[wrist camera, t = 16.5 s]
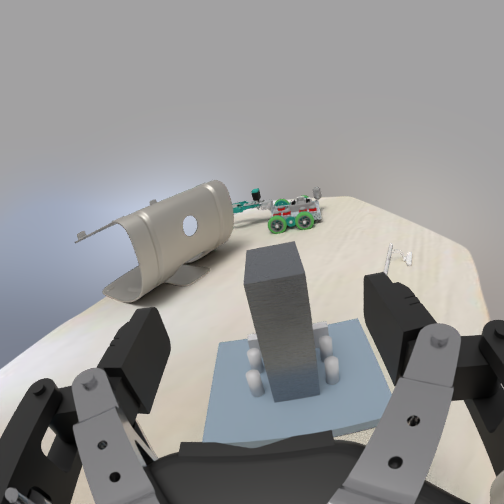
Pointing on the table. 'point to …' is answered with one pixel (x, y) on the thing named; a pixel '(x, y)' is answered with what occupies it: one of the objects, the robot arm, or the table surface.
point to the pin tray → (300, 410)
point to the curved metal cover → (172, 239)
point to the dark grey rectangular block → (282, 320)
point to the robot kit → (286, 211)
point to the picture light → (407, 258)
